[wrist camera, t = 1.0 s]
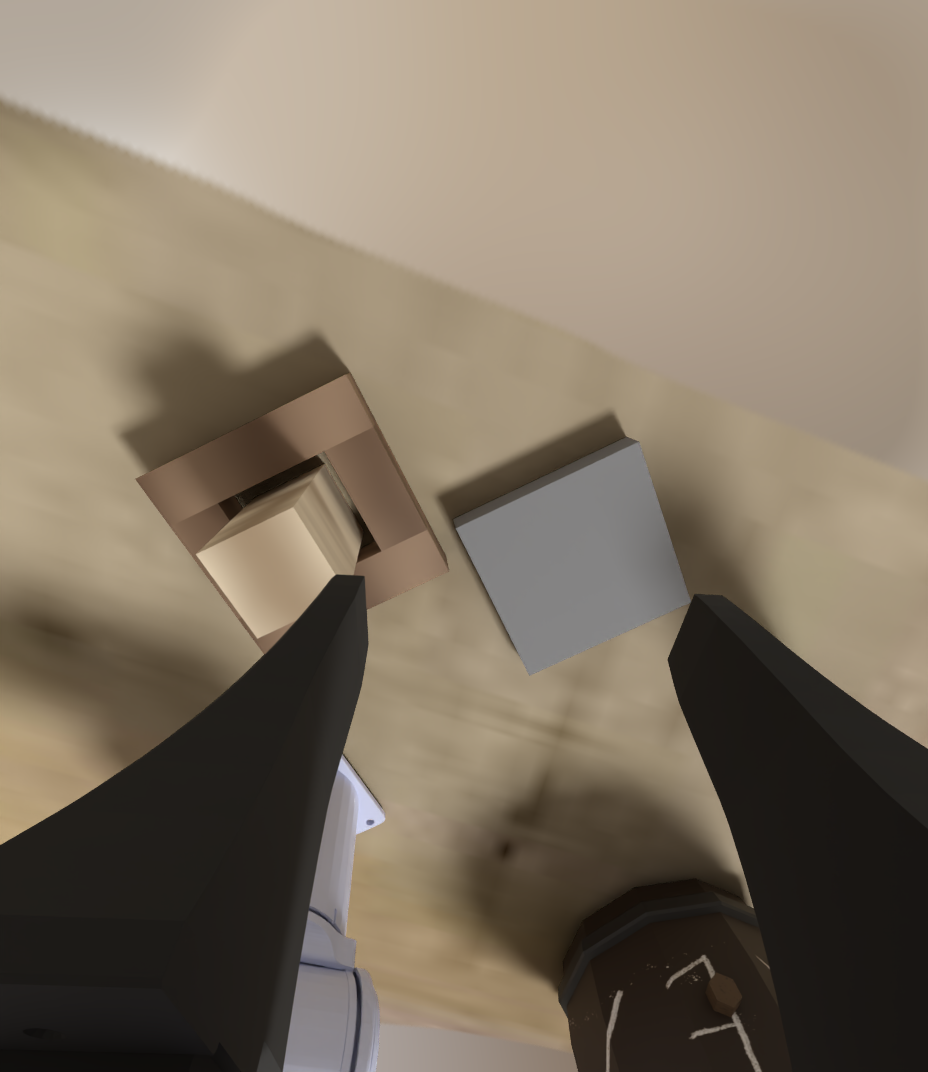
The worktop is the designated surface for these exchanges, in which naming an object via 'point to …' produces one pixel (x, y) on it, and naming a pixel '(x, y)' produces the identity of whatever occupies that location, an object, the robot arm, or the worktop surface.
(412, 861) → the worktop surface
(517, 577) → the rubber pad
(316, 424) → the pocket holder
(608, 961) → the wooden barrel
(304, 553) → the maple block
